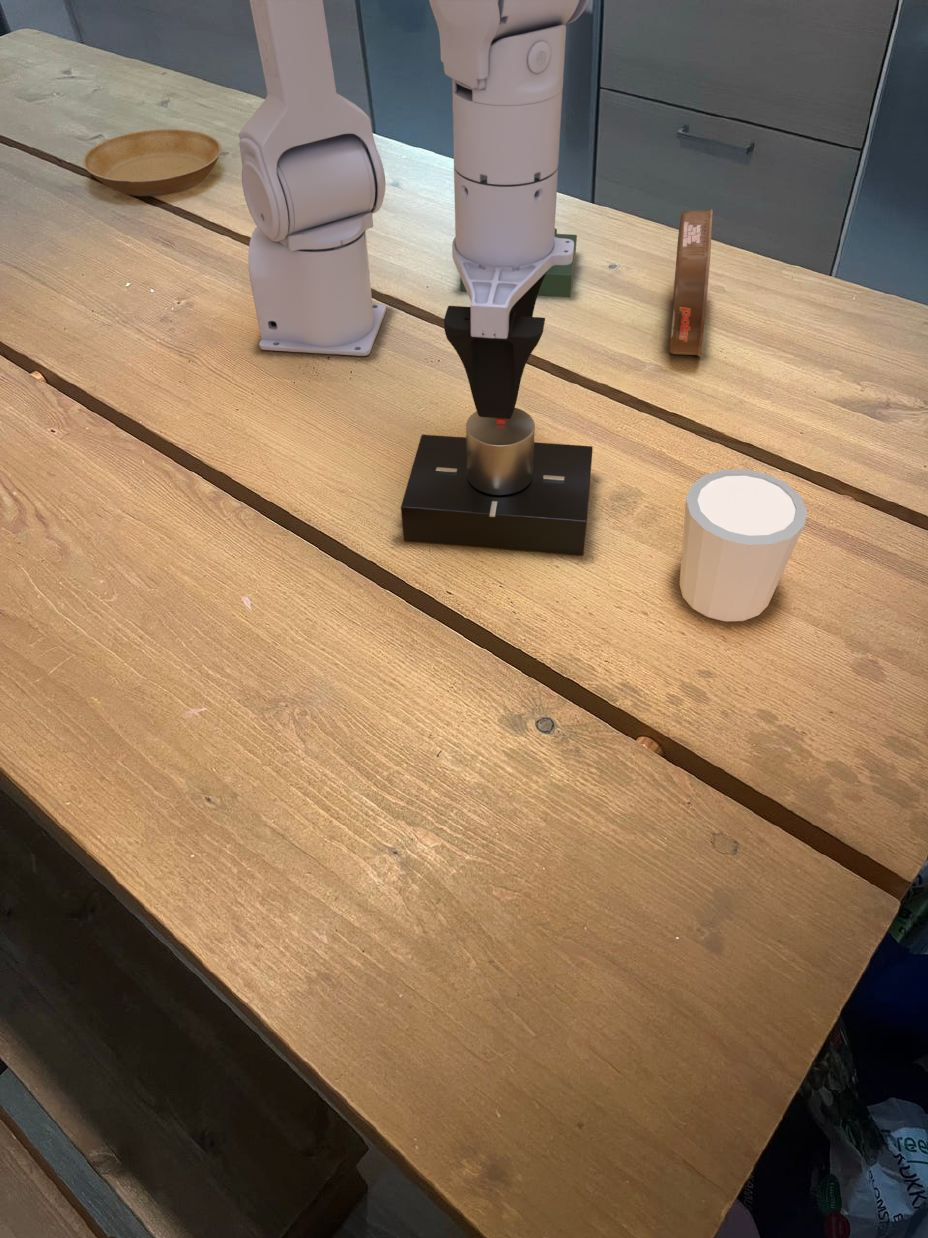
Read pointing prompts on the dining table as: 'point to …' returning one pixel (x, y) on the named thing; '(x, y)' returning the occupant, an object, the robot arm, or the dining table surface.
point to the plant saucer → (153, 161)
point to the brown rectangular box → (691, 282)
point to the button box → (555, 275)
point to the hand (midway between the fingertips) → (502, 380)
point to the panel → (498, 501)
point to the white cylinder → (737, 541)
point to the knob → (500, 452)
